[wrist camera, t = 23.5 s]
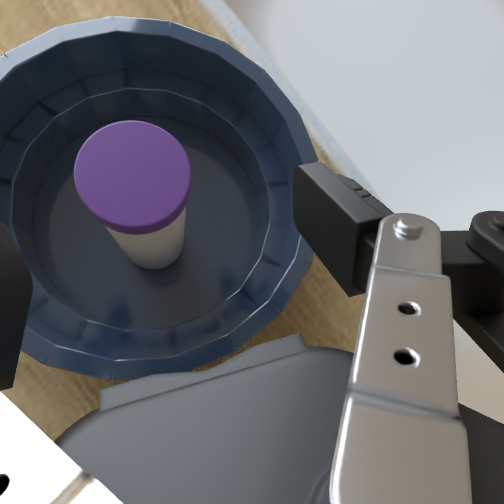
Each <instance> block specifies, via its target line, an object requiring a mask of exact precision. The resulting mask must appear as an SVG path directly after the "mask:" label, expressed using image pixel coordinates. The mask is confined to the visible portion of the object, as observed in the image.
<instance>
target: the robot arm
mask: <svg viewBox="0 0 504 504" xmlns="http://www.w3.org/2000/svg"><path fill="white" fill-rule="evenodd" d="M293 217H294V222H295V225H296V228H297V230H298V231H299V233H300V234H301V235H302V237H303V238H304V239H305V241H306V242H307V243H308V245H309V246H310V247H311V248H312V250H313V251H314V252H315V254H316V255H317V256H318V258H319V259H320V260H321V262H322V263H323V264H324V265H325V267H326V268H327V269H328V271H329V272H330V273H331V275H332V276H333V277H334V278H335V280H336V281H337V282H338V284H339V285H340V286H341V288H342V289H343V290H344V291H345V293H346V294H347V295H348V297H352V296H355V295H359V294H363V293H365V299H364V304H363V309H362V314H361V320H360V325H359V330H358V336H357V341H356V346H355V352H354V354H353V353H351V352H348V351H344V350H340V349H336V348H330V347H319V346H306V344H305V342H304V341H303V339H302V337H301V335H300V333H297V334H293V335H290V336H286V337H283V338H279V339H276V340H272V341H269V342H265V343H261V344H258V345H254V346H252V347H251V348H249V349H247V350H245V351H243V352H241V353H239V354H238V355H236V356H234V357H232V358H230V359H228V360H226V361H225V362H223V363H221V364H219V365H217V366H215V367H213V368H211V369H209V370H205V371H195V372H181V373H167V374H153V375H149V376H146V377H142V378H139V379H135V380H132V381H128V382H125V383H121V384H118V385H114V386H111V387H107V388H103V389H100V390H99V408H97V409H95V410H93V411H92V412H90V413H89V414H87V415H85V416H84V417H82V418H81V419H79V420H78V421H77V422H76V423H74V424H73V425H72V426H70V427H69V428H68V429H67V430H66V431H65V432H63V433H62V434H61V435H60V436H59V437H58V438H57V439H56V440H55V441H54V442H53V441H52V440H51V439H49V438H48V437H47V436H46V435H45V434H44V433H43V432H42V431H41V430H40V429H39V428H38V427H37V426H36V425H35V424H34V423H33V422H32V421H31V420H30V419H29V418H27V417H26V416H25V415H24V414H23V413H22V412H21V411H20V410H19V409H18V408H17V407H16V406H15V405H14V404H13V403H12V402H11V401H10V400H9V399H8V398H7V397H5V396H4V395H3V394H2V393H1V392H0V504H504V424H502V423H500V422H497V421H495V420H493V419H491V418H489V417H487V416H485V415H483V414H481V413H479V412H477V411H475V410H472V409H470V408H468V407H466V406H464V405H462V404H460V403H458V395H457V379H456V364H455V346H454V330H453V318H454V320H455V321H456V322H457V323H458V324H459V325H460V326H461V327H462V329H463V330H464V331H465V332H466V333H467V334H468V335H469V336H470V337H471V338H472V339H473V340H474V341H475V342H476V344H477V345H478V346H479V347H480V348H481V349H482V350H483V351H484V352H485V353H486V354H487V355H488V357H489V358H490V359H491V360H492V361H493V362H494V363H495V364H496V365H497V366H498V367H499V368H500V370H501V371H502V372H503V373H504V212H502V211H485V212H481V213H478V214H476V215H475V216H474V217H473V219H472V222H471V225H470V228H469V231H440V229H439V227H438V226H437V225H436V223H434V222H433V221H431V220H430V219H427V218H426V217H423V216H420V215H416V214H410V213H409V214H408V213H397V214H394V213H393V212H392V211H391V210H390V209H389V208H387V207H386V206H385V205H384V204H382V203H381V202H380V201H379V200H377V199H376V198H375V197H374V196H371V194H370V193H369V192H368V191H366V190H365V189H364V190H363V187H362V186H360V185H359V184H358V183H357V182H355V181H354V180H353V179H350V178H347V177H345V176H342V175H340V174H337V175H336V174H335V173H333V172H332V171H331V170H330V169H329V168H328V167H326V166H325V165H324V164H323V163H322V162H315V163H310V164H304V165H299V166H296V167H295V169H294V173H293ZM32 292H33V282H32V277H31V273H30V270H29V268H28V266H27V264H26V262H25V260H24V258H23V256H22V254H21V252H20V250H19V248H18V246H17V244H16V242H15V240H14V238H13V236H12V234H11V232H10V230H9V228H8V227H7V225H6V224H5V223H4V222H2V221H0V391H2V390H5V389H9V388H12V387H13V383H14V378H15V373H16V368H17V364H18V359H19V354H20V349H21V345H22V340H23V335H24V330H25V326H26V321H27V316H28V311H29V306H30V302H31V297H32Z"/></svg>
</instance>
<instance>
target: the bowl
mask: <svg viewBox="0 0 504 504" xmlns="http://www.w3.org/2000/svg"><path fill="white" fill-rule="evenodd" d="M121 121H142V122H146V123H150V124H153V125H156V126H158V127H160V128H162V129H164V130H165V131H167V132H168V133H170V134H171V135H172V136H173V137H174V138H175V139H176V140H177V141H178V142H179V143H180V144H181V146H182V147H183V149H184V150H185V152H186V154H187V156H188V159H189V162H190V166H191V176H192V178H191V188H190V195H189V199H188V202H187V204H186V215H185V229H184V243H183V248H182V251H181V253H180V255H179V256H178V258H177V259H176V260H175V261H174V262H173V263H172V264H170V265H168V266H166V267H164V268H161V269H145V268H142V267H140V266H138V265H136V264H135V263H133V262H132V261H131V260H130V259H129V257H128V256H127V255H126V253H125V252H124V251H123V250H122V248H121V247H120V246H119V244H118V243H117V242H116V240H115V239H114V238H113V236H112V235H111V234H110V232H109V231H108V230H107V228H106V227H105V226H104V225H103V224H102V223H100V222H99V221H98V220H97V219H96V218H95V217H94V216H93V215H92V214H91V213H90V211H89V210H88V209H87V208H86V206H85V205H84V204H83V202H82V200H81V199H80V197H79V195H78V193H77V190H76V186H75V181H74V166H75V161H76V158H77V155H78V153H79V151H80V149H81V147H82V146H83V144H84V143H85V142H86V140H87V139H88V138H89V137H90V136H91V135H93V134H94V133H95V132H96V131H98V130H99V129H101V128H103V127H105V126H107V125H110V124H113V123H116V122H121ZM315 162H318V157H317V155H316V152H315V150H314V148H313V145H312V143H311V140H310V138H309V135H308V133H307V130H306V128H305V126H304V123H303V121H302V118H301V116H300V113H298V111H297V109H296V108H295V107H294V106H293V104H292V103H291V102H290V101H289V99H288V98H287V97H286V96H285V94H284V93H283V92H282V91H281V89H280V88H279V87H278V86H277V84H276V83H275V82H274V81H273V79H272V78H271V77H270V76H269V75H268V73H267V72H266V71H265V70H264V69H262V68H261V67H260V66H258V65H257V64H255V63H254V62H252V61H251V60H250V59H248V58H247V57H245V56H244V55H243V54H241V53H240V52H238V51H237V50H236V49H234V48H233V47H231V46H230V45H229V44H227V43H226V42H224V41H222V40H221V39H218V38H215V37H213V36H210V35H207V34H204V33H202V32H199V31H196V30H194V29H191V28H188V27H185V26H183V25H180V24H177V23H175V22H172V21H171V22H170V21H167V20H155V19H144V18H132V17H121V16H114V17H113V16H109V17H104V18H99V19H93V20H88V21H82V22H77V23H72V24H66V25H61V26H57V27H54V28H52V29H50V30H48V31H46V32H44V33H43V34H41V35H39V36H37V37H35V38H33V39H31V40H29V41H27V42H25V43H23V44H21V45H19V46H17V47H15V48H13V49H11V50H9V51H7V52H5V53H4V55H2V56H1V57H0V221H2V222H4V223H5V224H6V225H7V227H8V228H9V230H10V232H11V234H12V236H13V238H14V240H15V242H16V244H17V246H18V248H19V250H20V252H21V254H22V256H23V258H24V260H25V262H26V264H27V266H28V268H29V270H30V273H31V277H32V282H33V292H32V297H31V302H30V306H29V311H28V316H27V321H26V326H25V330H24V335H23V340H22V345H21V349H20V350H22V351H23V352H25V353H26V354H28V355H29V356H31V357H33V358H34V359H36V360H37V361H39V362H40V363H42V364H46V366H50V367H54V368H58V369H62V370H66V371H70V372H74V373H79V374H83V375H87V376H91V377H95V378H99V379H103V380H107V381H111V380H112V381H123V380H135V379H139V378H142V377H146V376H149V375H153V374H167V373H181V372H189V371H192V370H194V369H197V368H199V367H201V366H204V365H206V364H209V363H211V362H214V361H216V360H218V359H221V358H223V357H226V356H228V355H230V354H233V353H235V352H236V351H238V350H239V349H240V348H242V347H243V346H244V345H245V344H246V343H247V342H249V341H250V340H251V339H252V338H253V337H254V336H256V335H257V334H258V333H259V332H260V331H261V330H263V329H264V328H265V327H266V326H267V325H269V324H270V323H271V322H272V321H273V320H274V319H276V318H277V317H278V316H279V315H280V314H281V313H280V312H283V310H284V309H285V307H286V305H287V304H288V302H289V300H290V299H291V297H292V295H293V294H294V292H295V291H296V289H297V287H298V286H299V284H300V282H301V281H302V279H303V277H304V276H305V274H306V273H307V271H308V269H309V268H310V265H311V263H312V259H313V254H314V251H313V250H312V248H311V247H310V246H309V245H308V243H307V242H306V241H305V239H304V238H303V237H302V235H301V234H300V233H299V231H298V230H297V228H296V225H295V222H294V217H293V173H294V169H295V167H296V166H299V165H304V164H310V163H315Z"/></svg>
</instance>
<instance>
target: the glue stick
mask: <svg viewBox="0 0 504 504" xmlns="http://www.w3.org/2000/svg"><path fill="white" fill-rule="evenodd" d="M191 178H192V176H191V166H190V162H189V159H188V156H187V154H186V152H185V150H184V149H183V147H182V146H181V144H180V143H179V142H178V141H177V140H176V139H175V138H174V137H173V136H172V135H171V134H170V133H168V132H167V131H165V130H164V129H162V128H160V127H158V126H156V125H153V124H150V123H146V122H142V121H121V122H116V123H113V124H110V125H107V126H105V127H103V128H101V129H99V130H98V131H96V132H95V133H94V134H93V135H91V136H90V137H89V138H88V139H87V140H86V142H85V143H84V144H83V146H82V147H81V149H80V151H79V153H78V155H77V158H76V161H75V166H74V181H75V186H76V190H77V193H78V195H79V197H80V199H81V200H82V202H83V204H84V205H85V206H86V208H87V209H88V210H89V211H90V213H91V214H92V215H93V216H94V217H95V218H96V219H97V220H98V221H99V222H100V223H102V224H103V225H104V226H105V227H106V228H107V230H108V231H109V232H110V234H111V235H112V236H113V238H114V239H115V240H116V242H117V243H118V244H119V246H120V247H121V248H122V250H123V251H124V252H125V253H126V255H127V256H128V257H129V259H130V260H131V261H132V262H133V263H135V264H136V265H138V266H140V267H142V268H145V269H161V268H164V267H166V266H168V265H170V264H172V263H173V262H174V261H175V260H176V259H177V258H178V256H179V255H180V253H181V251H182V248H183V243H184V229H185V215H186V204H187V202H188V199H189V195H190V188H191Z"/></svg>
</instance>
